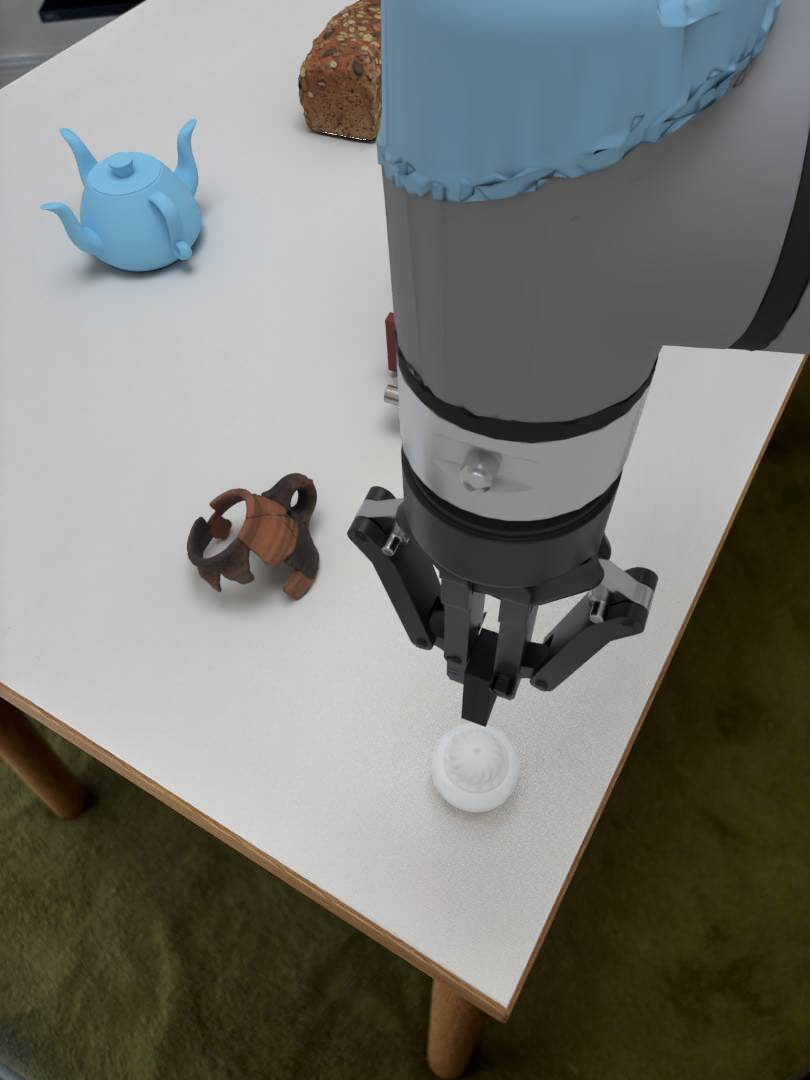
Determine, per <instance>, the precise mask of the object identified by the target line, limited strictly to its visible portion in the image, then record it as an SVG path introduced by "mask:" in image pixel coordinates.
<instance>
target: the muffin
mask: <svg viewBox="0 0 810 1080" xmlns="http://www.w3.org/2000/svg"><path fill="white" fill-rule="evenodd" d="M520 760H521V759H520V756H519V754H518V751H517V749H516V747H515V745H514V743H513V742H512V741H511V740H510V738H509V737H508V736H507V735H506V734H505V733H504V732H503V731H502V730H500V729H498V728H496V727H495V726H493V725H491V724H489V723H487V725H486V727H484V726H481V725H478V724H476V723H473V722H470V721H468V722H464V723H461V724H457V725H455V726H452V727H451V728H450V729H448V730H447V731H446V732H445V733H443V735H441V737H440V738H439V739H438V741H437V742H436V744H435V745H434V748H433V749H432V752H431V754H430V758H429V770H430V776H431V778H432V781H433V783H434V786H435V788H436V790H437V791H438V792H439V794H440V796H442V798H443V799H444V800H445V801H446V802H447V803H449V804H450V805H451V806H453V807H455V808H457V809H459V810H461V811H464V812H471V813H483V812H488V811H493V810H494V809H496V808H498V807H500V806H501V805H503V804H504V803H505V802H506V801H507V800H508V799H509V798H510V797H511V795H512V794H513V793H514V791H515V789H516V787H517V786H518V784H519V781H520V777H521V772H522V771H521V769H522V768H521V761H520Z"/></svg>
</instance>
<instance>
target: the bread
mask: <svg viewBox="0 0 810 1080" xmlns="http://www.w3.org/2000/svg"><path fill="white" fill-rule="evenodd" d="M299 69H300V70H299V74H298V77H297V78H296V79H297V81H298V82H297V87H298V98H299V104H300V105H301V107H302V109H303V115H302V116H304V119H305V120H304V121H305V124H306V125H307V128H309V129H312V130H314V131H315V132H317V131H319V132H318V133H320V132H324V133H325V132H327V133H333V134H337V135H343V136H346V137H349V138H350V137H351V138H352V137H354V138H359V139H362V140H363V139H366V140H371V141H372V140H374V139H376V138H377V136H378V133H379V129H380V124H381V114H382V63H381V0H357V1H355V2H354V3H352V4H350V5H347V6H344V8H343V9H342V10H340V11H339V12H338V13H337V14H335V15H334V16H332V17H331V19H330V20H329V21H328V22H327V24H326V25H325V27H324V28H323V30H322V31H321V32H320V33H319V34H318V36H317V37H315V38H314V39H313V40H312V47H311V48H310V51H309V53H307V54H306V56H305V59H304V60H303V61H302V63H301V65H300V68H299Z"/></svg>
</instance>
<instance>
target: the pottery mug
mask: <svg viewBox="0 0 810 1080" xmlns="http://www.w3.org/2000/svg"><path fill="white" fill-rule="evenodd" d="M296 492H297V500H296V502H295V504H294V505H293V506H292V499H293V497H294V495H295V493H296ZM243 501H244V502H245V506H246V507H245V509H246V513H245V519H244V521H243V523H242V526H241V527H240V530H239V532H238V534H237V535H236V537H235V538H234V539H232V541H231V543H229V544H228V545H227V547H225V548H224V549H223V550H222V551H220V552H219V553H217V554H215V555H213V556H210V557H204V555H205V552H206V549H207V548H208V546H209V545H210V543H211V541H212V540H213V539H216V540H226V539H227V538H228V536H229V534H230V532H231V530H232V528H233V523H232V521H231V520H230V519H228V518H226V517H224V516H223V515H224V514H225V513H226V512H228V510H230V509H231V508H232V507H234V506H236V505H237V504H239V503H241V502H243ZM317 502H318V490H317V488H316V486H315V483H314V480H313V479H312V478H309V477H308V476H307V475H305V474H302V473H301V472H292V473H288V474H286V475H284V476H283V477H281V478H280V479H279V480H278V481H277V482H276V483H275V484H274V485H273V486H272V487H271V488H270V489H268V490H265V491H262V492H261V494H257V493H252V492H251V491H249V490H248V489H246V488H243V487H241V488H240V487H237V488H236V487H235V488H231V489H228V490H226V491H224V492H222V493H220V494H219V495H217V496H216V497H215V498H213V499H212V500H211V501H210V502H209V504H208V506H209V507H210V508H211V509H212V510H214V512H213V513H212V514H211V516H210V517H209V519H208V520H206V519H205V518H204V517H203V516H199V517H198V518H197V519H195V520H194V522H193V524H192V526H191V529H190V530H189V533H188V536H187V541H186V552H187V559H188V560H189V562H190V563H191V564H192V565H193V566H195V567H196V568H197V571H198V574H199V577H200V578H201V579H202V580H204V581H205V582H206V584H208V585H209V586H211V589H213V590H214V591H216V592H217V593H222V592H223V591H222V590H223V588H222V586H221V576H223V578H225V579H227V580H228V581H231V582H237V583H238V584H240V585H247V584H250V583H252V582H254V581H255V580H256V577H255V575H254V574H253V572H252V571H251V564H250V554H251V553H250V551H252V552H253V553H254V554H255V555H256V556H257V557H258V558H260V559H261V560H262V561H263V563H264V564H265V565H267V566H271V567H277V566H279V565H281V564H282V563H284V564H286V565H288V566H290V567H292V568H293V570H294V571H293V573H292V575H291V576H290V578H289V579H288V580H287V581H286V582H285V584H284V585H283V586H282V590H283V592H284V594H286V595H289V596H290V597H291V598H293V599H294V600H296V601H298V600H300V599H301V598H302V597H303V596H304V595H305V594H306V593H307V591H308V590H309V589H310V588H311V585H312V583H313V582H314V580H315V578H316V575H317V572H318V571H319V565H320V553H319V551H318V548H317V546H316V545H315V542H314V540H313V537H312V535H311V533H310V530H309V528H310V521H311V519H312V517H313V514H314V512H315V509H316V506H317Z"/></svg>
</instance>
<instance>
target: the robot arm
mask: <svg viewBox="0 0 810 1080" xmlns="http://www.w3.org/2000/svg"><path fill="white" fill-rule="evenodd" d="M381 63H382V114H381V124H380V129H379V133H378V136H377V137H376V138H375V142H376V143H375V144H376V156H377V165H380V167H381V168H380V169H381V176H382V187H383V188H382V189H383V196H384V208H385V209H384V211H385V220H386V221H385V222H386V235H387V246H388V247H387V248H388V259H389V260H388V261H389V272H390V284H391V297H392V308H393V310H392V311H393V313H394V329H395V330H394V333H395V347H396V358H397V372H396V378H398V399H399V406H398V415H399V417H398V418H399V433H400V439H401V447H400V459H401V477H402V491H403V492H402V494H403V497H401V498H400V497H399V498H397V497H396V496H395V495H394V494H393V493H392V492H391V491H390V490H389V489H387V488H385V487H383V486H379V485H373V486H371V487H370V488H369V490H368V491H367V493H366V496H365V497H364V499H363V501H362V503H361V505H360V506H359V508H358V511H357V512H356V514H355V516H354V518H353V521H352V522H351V524H350V526H349V528H348V529H347V532H346V535H347V538H348V539H349V540H350V541H351V542H352V543H353V545H354V546H355V547H356V548H357V549H358V550H359V551H360V552H361V553H362V554H363V555H364V556H365V557H366V558H367V559H368V561H370V562H371V564H372V566H373V568H374V570H375V572H376V574H377V576H378V578H379V580H380V582H381V584H382V587H383V588H384V590H385V592H386V594H387V597H388V598H389V600H390V602H391V605H392V606H393V608H394V610H395V613H396V614H397V617H398V619H399V620H400V622H401V625H402V626H403V629H404V630H405V633H406V635H407V637H408V639H409V641H410V643H411V644H412V645H413V646H415V647H416V648H418V649H420V650H425V651H431V650H432V649H433V648H434V647H436V648H438V649H440V650H441V651H442V652H443V659H444V660H445V661H446V676H447V677H448V679H449V680H451V681H453V682H454V683H455V682H456V683H458V684H461V685H462V697H461V699H462V700H461V714H460V715H461V716H460V719H462V720H465V721H467V722H473V723H476V724H478V725H481V726H484V727H486V725H487V724H489V723H488V722H489V720H490V717H491V714H492V712H493V709H494V707H495V703H496V701H497V697H500V698H502V699H505V700H508V701H512V700H514V699H515V698H516V695H517V692H518V690H519V687H520V683H521V682H522V681H521V680H522V679H528V680H529V684H530V686H532V687H533V688H535V689H537V690H539V692H540V691H541V692H544V693H545V692H552V691H554V690H555V689H556V688H558V687H559V686H560V685H561V684H562V683H563V682H564V681H566V680H568V678H570V676H571V675H573V674H574V673H575V672H576V671H578V670H579V669H580V668H581V667H582V666H583V665H584V664H586V663H587V662H588V661H589V660H590V659H591V658H592V657H594V656H595V655H596V654H597V653H598V652H600V651H601V650H602V649H604V647H606V646H607V645H608V644H609V643H611V642H613V641H617V640H620V639H625V638H629V637H633V636H636V635H640V634H642V633H644V632H645V629H646V626H647V622H648V618H649V614H650V611H651V607H652V604H653V600H654V597H655V594H656V593H655V592H656V589H657V585H658V583H659V576H658V574H657V573H656V572H655V571H653V570H652V569H650V568H647V567H643V566H635V567H634V566H633V567H631V568H628V569H625V570H623V569H622V568H621V567H620V566H618V565H616V563H614V562H613V561H612V560H610V559H611V558H612V557H611V556H612V546H611V542H610V540H609V538H608V536H607V535H606V534H607V533H606V528H607V525H608V522H609V518H610V516H611V513H612V510H613V505H614V502H615V499H616V496H617V494H618V493H617V492H618V490H619V487H620V483H621V479H622V475H623V471H624V466H625V464H626V463H627V460H628V458H629V455H630V452H631V449H632V445H633V442H634V439H635V436H636V433H637V430H638V426H639V423H640V420H641V417H642V414H643V411H644V408H645V404H646V401H647V398H648V395H649V392H650V389H651V385H652V382H653V379H654V376H655V372H656V368H657V363H658V360H659V356H660V352H661V350H662V348H663V347H664V346H665V347H666V346H668V347H682V348H694V349H713V350H742V351H749V352H755V351H759V352H771V353H783V354H784V353H785V354H796V355H807V356H808V355H810V0H381ZM435 568H436V569H435ZM436 570H438V574H437V572H436ZM586 592H587V593H586ZM583 593H586V594H585V595H583V597H582V598H581V599H580V600H579V601H578V602H577V603H576V604H575V605H574V606H573V607H572V609H570V610H569V612H568V613H566V614H565V616H564V617H563V618H561V620H560V621H559V622H558V623H557V624H556V625H555V626H554V627H553V628H552V629H551V630H550V631H549V632H548V633H547V634H546V635H545V636H544V638H543V641H542V643H540V642H534V641H532V639H533V634H534V629H535V625H536V619H537V615H538V610H539V606H544V605H546V604H551V603H554V602H557V601H561V600H563V599H566V598H570V597H573V596H577V595H580V594H583ZM486 596H491V597H492V598H495V599H497V600H499V609H498V616H497V623H499V626H498V627H499V628H498V632H497V631H493V630H491V629H488V628H485V627H483V624H484V621H485V618H486V616H487V614H488V611H485V603H486V602H485V601H486Z"/></svg>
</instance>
